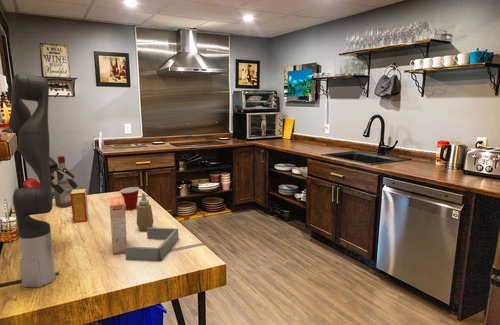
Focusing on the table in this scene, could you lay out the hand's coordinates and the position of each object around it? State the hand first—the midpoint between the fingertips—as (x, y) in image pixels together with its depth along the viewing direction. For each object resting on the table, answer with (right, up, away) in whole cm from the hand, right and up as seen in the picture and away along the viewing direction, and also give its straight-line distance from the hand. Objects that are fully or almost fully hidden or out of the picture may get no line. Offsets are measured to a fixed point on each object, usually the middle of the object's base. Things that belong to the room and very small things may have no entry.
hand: (69, 190), depth 145 cm
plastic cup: (+7, -16, +56) cm, 58 cm away
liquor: (-36, -15, +63) cm, 74 cm away
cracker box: (+21, -25, +2) cm, 32 cm away
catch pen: (+36, -25, 0) cm, 44 cm away
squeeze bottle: (+25, -21, +23) cm, 40 cm away
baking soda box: (-14, -19, +37) cm, 44 cm away
